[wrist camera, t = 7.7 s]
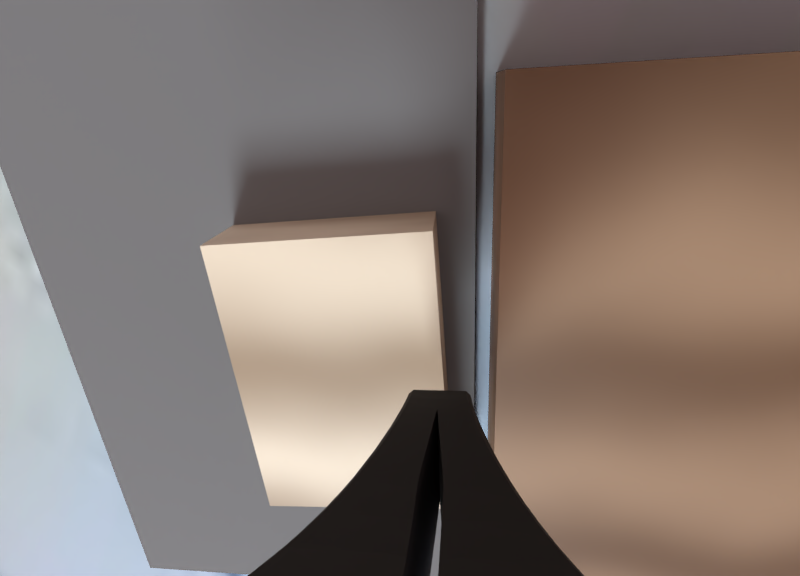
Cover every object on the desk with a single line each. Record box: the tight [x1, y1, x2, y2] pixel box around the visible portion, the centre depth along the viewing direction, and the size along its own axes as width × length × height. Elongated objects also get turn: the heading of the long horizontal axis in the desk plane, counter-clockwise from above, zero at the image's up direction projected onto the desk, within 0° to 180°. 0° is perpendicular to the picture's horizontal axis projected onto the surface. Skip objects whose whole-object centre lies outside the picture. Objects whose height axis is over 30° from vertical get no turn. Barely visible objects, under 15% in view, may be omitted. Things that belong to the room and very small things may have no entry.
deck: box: [488, 51, 800, 576], centre depth 13 cm, size 16×12×2 cm
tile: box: [200, 211, 448, 509], centre depth 14 cm, size 9×6×2 cm, turn 6°
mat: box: [0, 0, 477, 576], centre depth 16 cm, size 22×14×1 cm, turn 3°
